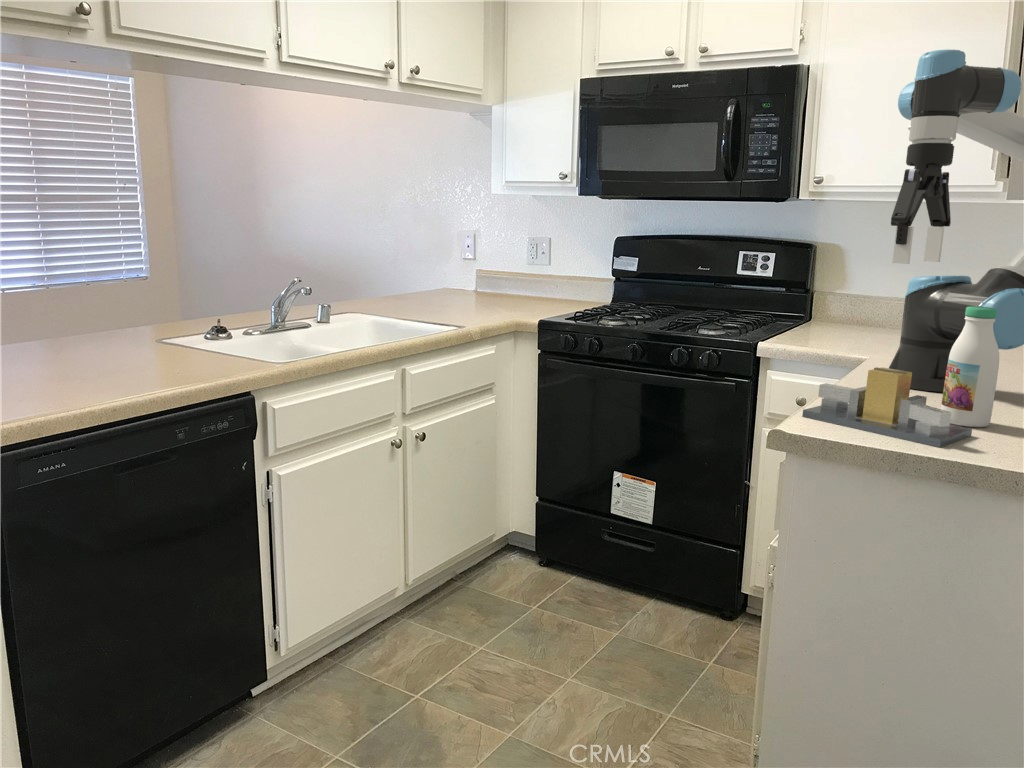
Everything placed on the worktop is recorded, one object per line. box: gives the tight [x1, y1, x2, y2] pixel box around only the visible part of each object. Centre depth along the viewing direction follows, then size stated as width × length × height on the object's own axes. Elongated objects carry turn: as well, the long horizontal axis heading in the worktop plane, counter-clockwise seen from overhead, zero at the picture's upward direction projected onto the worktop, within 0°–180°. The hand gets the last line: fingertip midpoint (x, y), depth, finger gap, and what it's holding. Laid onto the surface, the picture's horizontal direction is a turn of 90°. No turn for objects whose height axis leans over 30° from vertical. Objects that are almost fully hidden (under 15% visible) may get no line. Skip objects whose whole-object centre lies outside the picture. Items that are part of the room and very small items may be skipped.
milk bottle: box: [940, 306, 1000, 428], centre depth 140 cm, size 8×8×20 cm
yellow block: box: [863, 367, 912, 423], centre depth 137 cm, size 5×5×8 cm
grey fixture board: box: [802, 383, 973, 448], centre depth 137 cm, size 12×23×6 cm, turn 41°
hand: (916, 262), depth 152 cm, fingers open, 13 cm apart
